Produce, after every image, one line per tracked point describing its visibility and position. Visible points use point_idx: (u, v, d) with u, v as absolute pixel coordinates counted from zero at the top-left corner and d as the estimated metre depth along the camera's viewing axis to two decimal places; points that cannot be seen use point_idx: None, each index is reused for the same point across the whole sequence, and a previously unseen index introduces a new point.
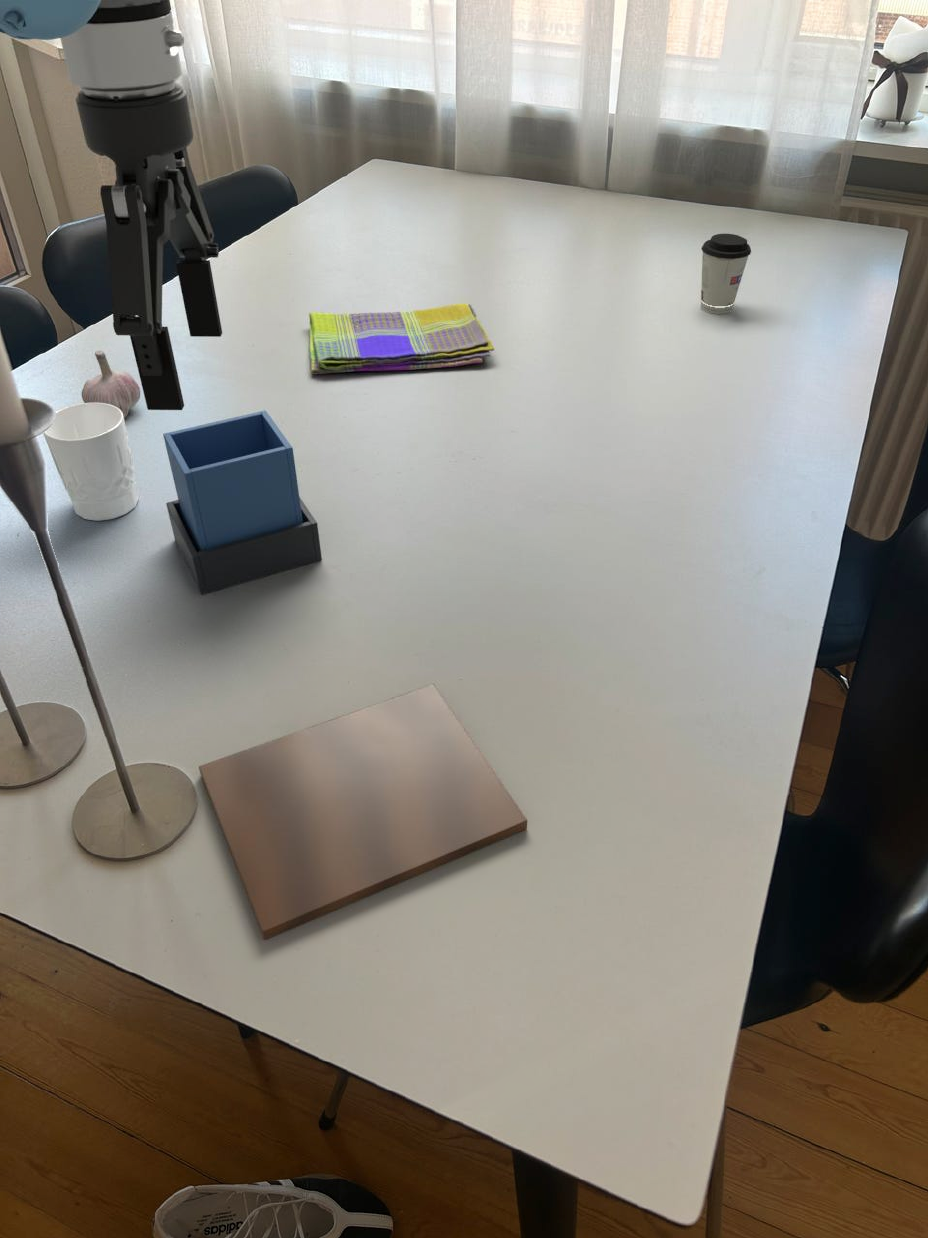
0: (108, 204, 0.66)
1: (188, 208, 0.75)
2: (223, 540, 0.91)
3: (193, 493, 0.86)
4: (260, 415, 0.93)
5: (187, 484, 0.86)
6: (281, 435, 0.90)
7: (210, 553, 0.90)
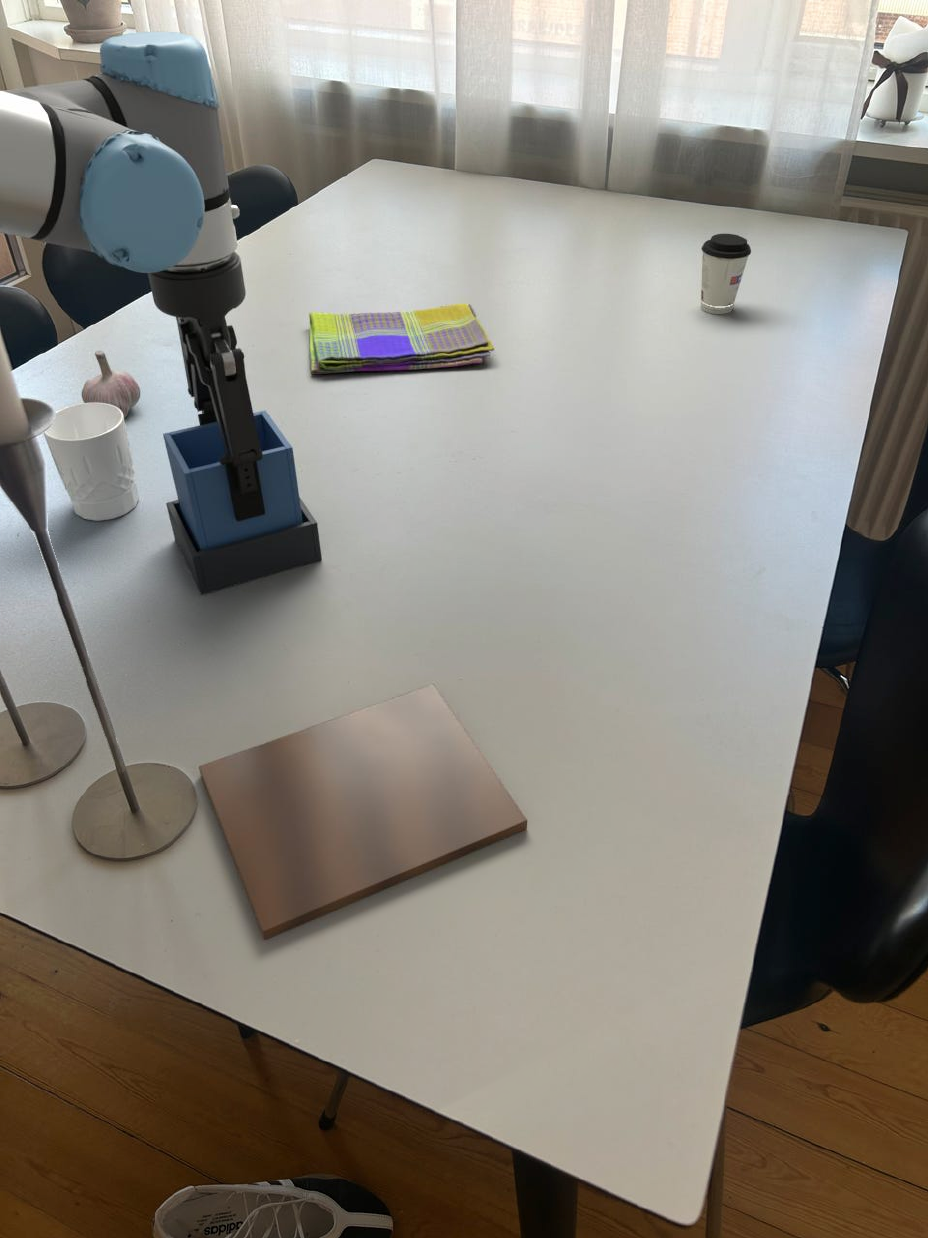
0: (220, 369, 0.78)
1: None
2: (223, 540, 0.91)
3: (193, 493, 0.86)
4: (260, 415, 0.93)
5: (187, 484, 0.86)
6: (281, 435, 0.90)
7: (210, 553, 0.90)
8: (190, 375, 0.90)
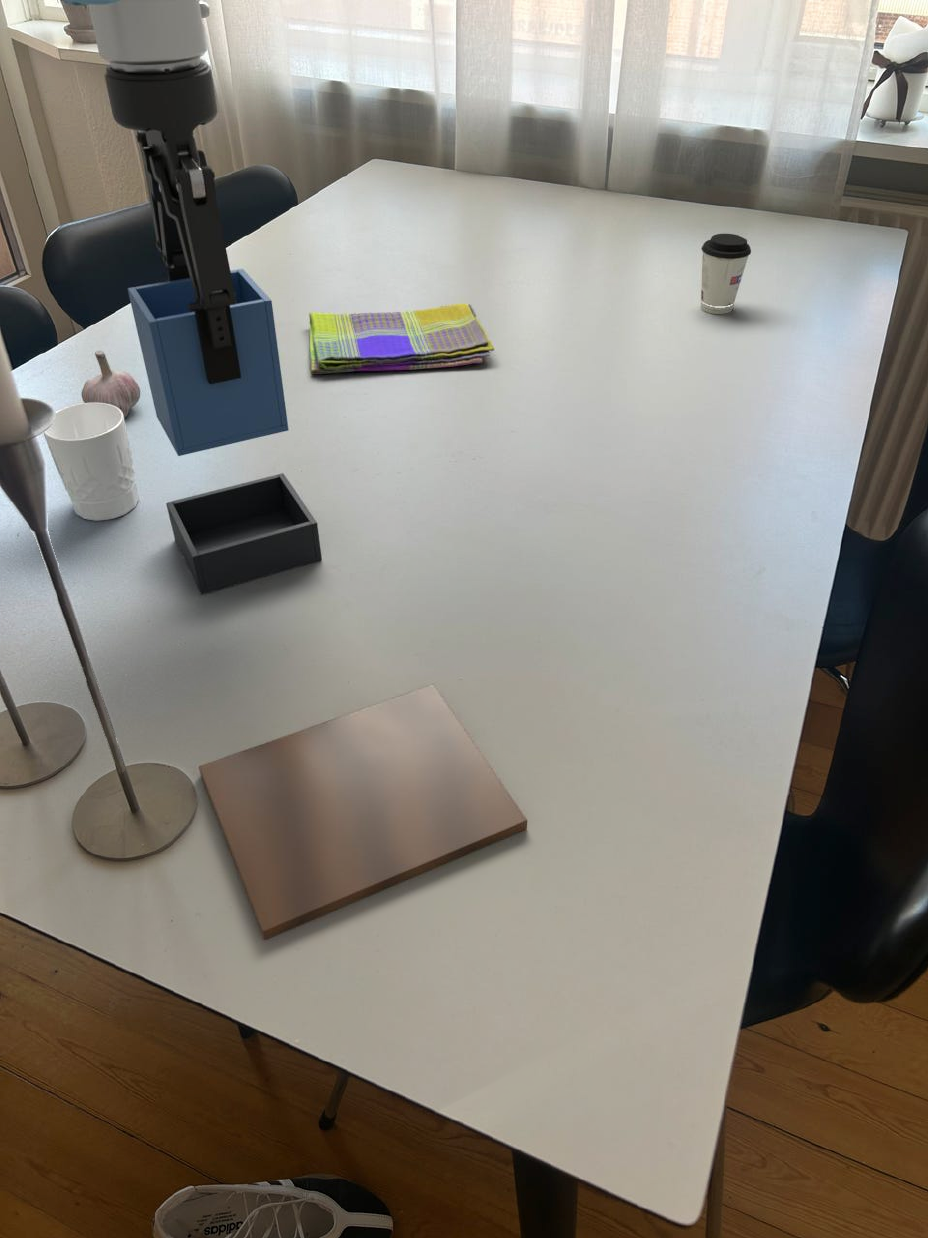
0: (187, 189, 0.69)
1: None
2: (194, 408, 0.81)
3: (159, 347, 0.77)
4: (236, 273, 0.84)
5: (152, 335, 0.76)
6: (259, 289, 0.81)
7: (210, 553, 0.90)
8: (158, 223, 0.81)
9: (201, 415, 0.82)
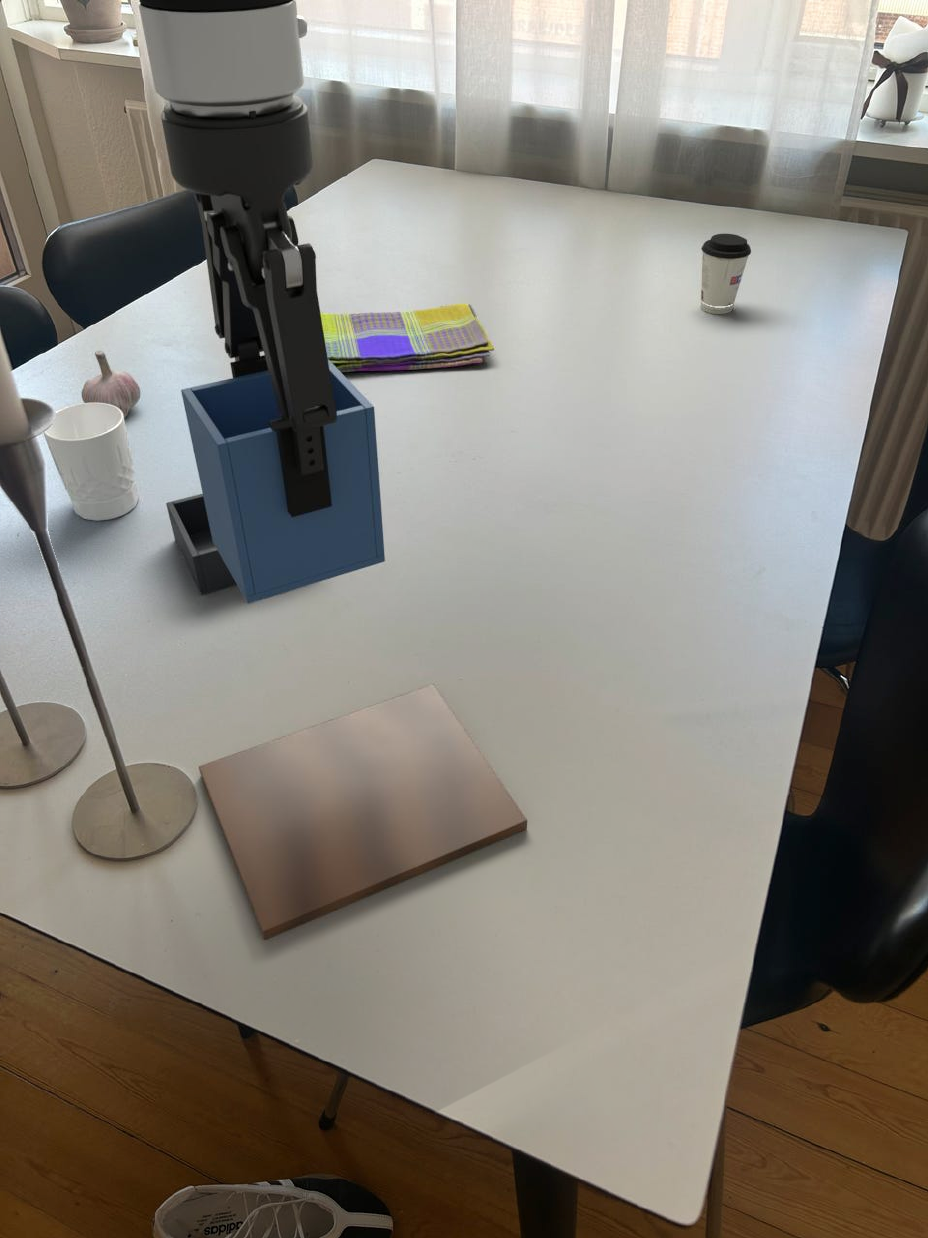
0: (279, 276, 0.49)
1: None
2: (270, 545, 0.62)
3: (229, 475, 0.58)
4: None
5: (221, 461, 0.57)
6: (355, 390, 0.61)
7: (210, 553, 0.90)
8: (219, 304, 0.62)
9: (279, 553, 0.63)
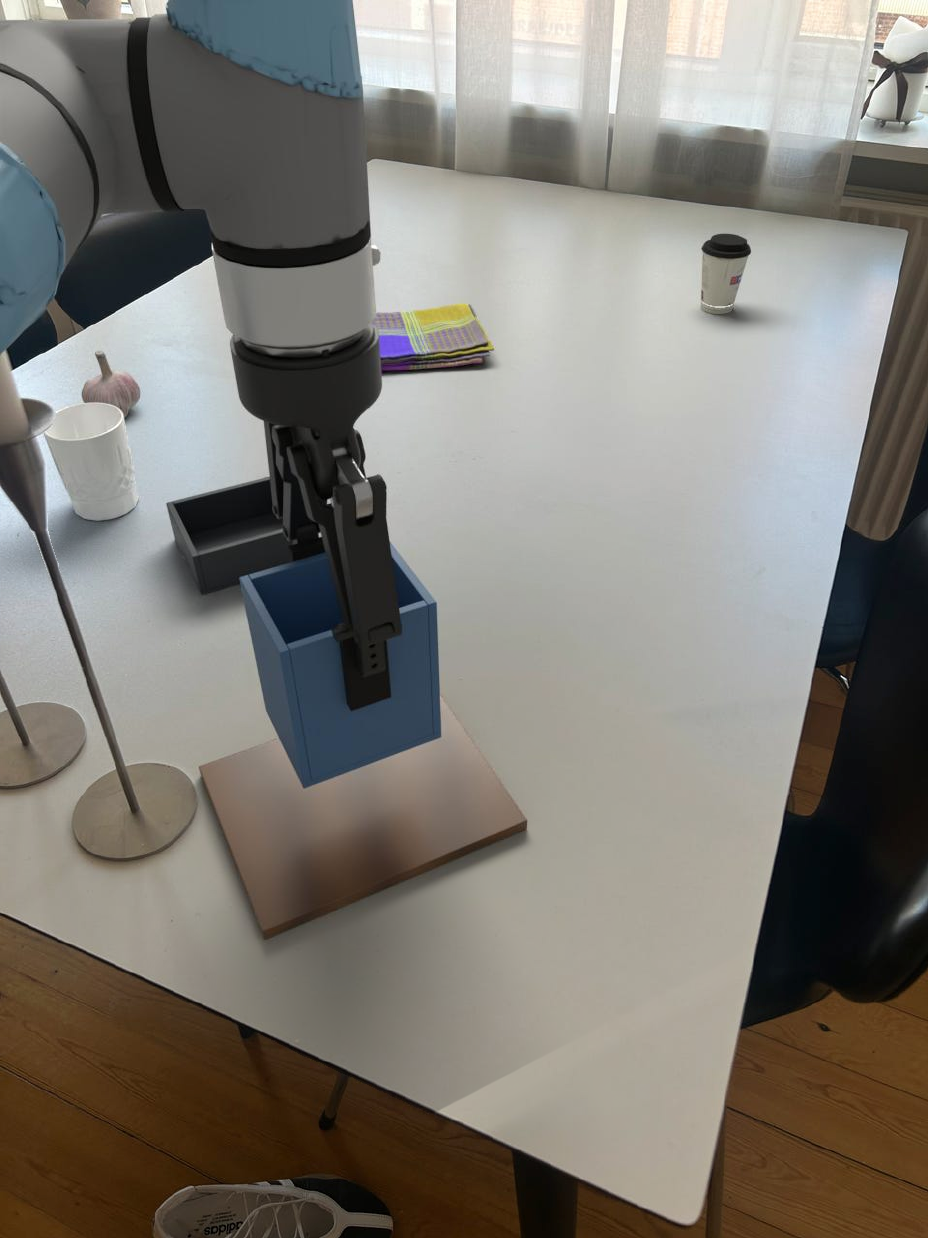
0: (350, 511, 0.48)
1: None
2: (328, 735, 0.61)
3: (290, 678, 0.57)
4: None
5: (282, 666, 0.56)
6: (416, 580, 0.60)
7: (210, 553, 0.90)
8: (278, 490, 0.61)
9: (336, 741, 0.62)
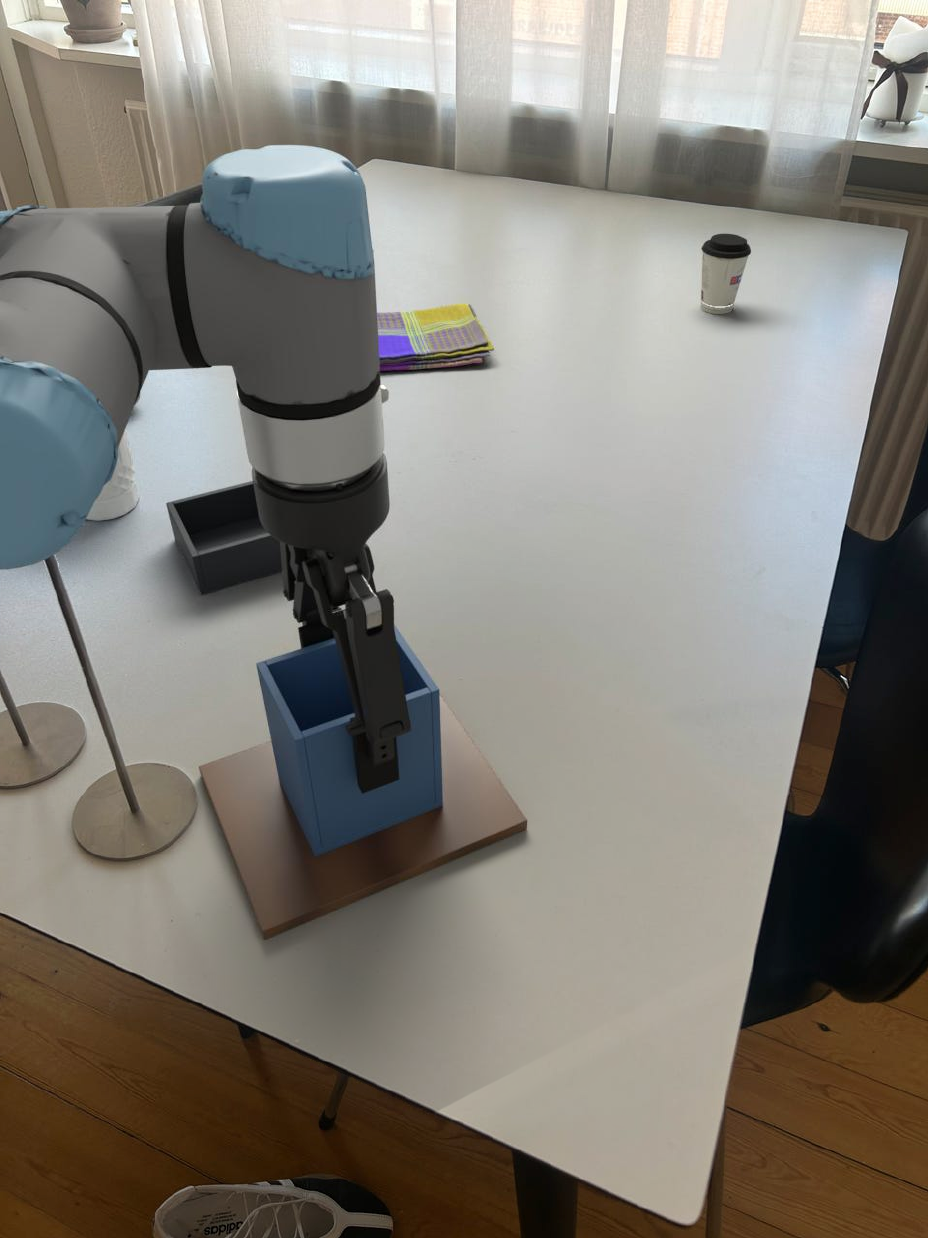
0: (360, 623, 0.53)
1: None
2: (338, 809, 0.66)
3: (304, 761, 0.61)
4: None
5: (297, 752, 0.61)
6: (420, 667, 0.65)
7: (210, 553, 0.90)
8: (290, 579, 0.66)
9: (345, 814, 0.66)
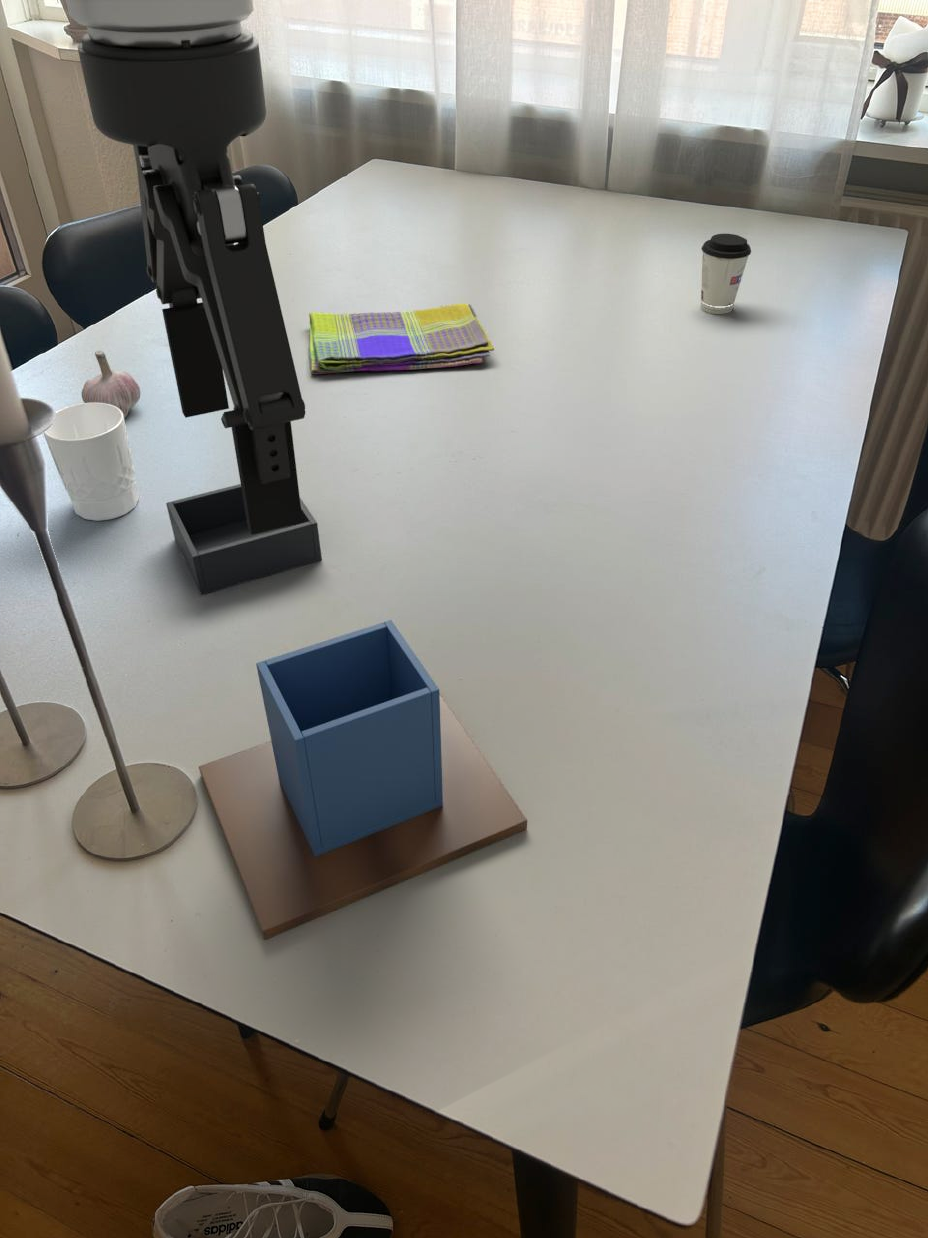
0: (214, 220, 0.40)
1: None
2: (338, 809, 0.66)
3: (304, 761, 0.61)
4: (384, 628, 0.68)
5: (297, 752, 0.61)
6: (420, 667, 0.65)
7: (210, 553, 0.90)
8: (153, 250, 0.54)
9: (345, 814, 0.66)
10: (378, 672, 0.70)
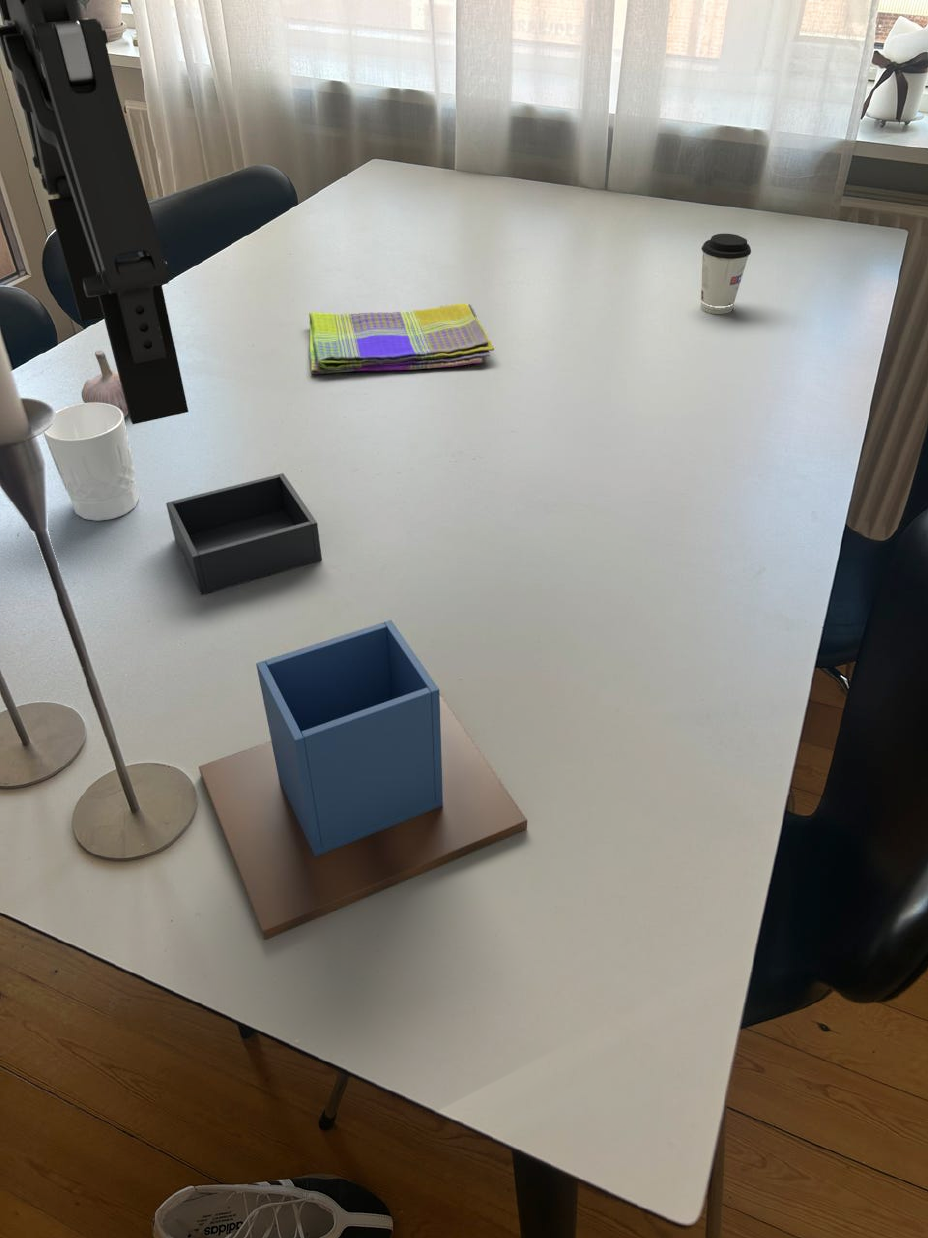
0: (54, 56, 0.37)
1: None
2: (338, 809, 0.66)
3: (304, 761, 0.61)
4: (384, 628, 0.68)
5: (297, 752, 0.61)
6: (420, 667, 0.65)
7: (210, 553, 0.90)
8: (35, 135, 0.51)
9: (345, 814, 0.66)
10: (378, 672, 0.70)
